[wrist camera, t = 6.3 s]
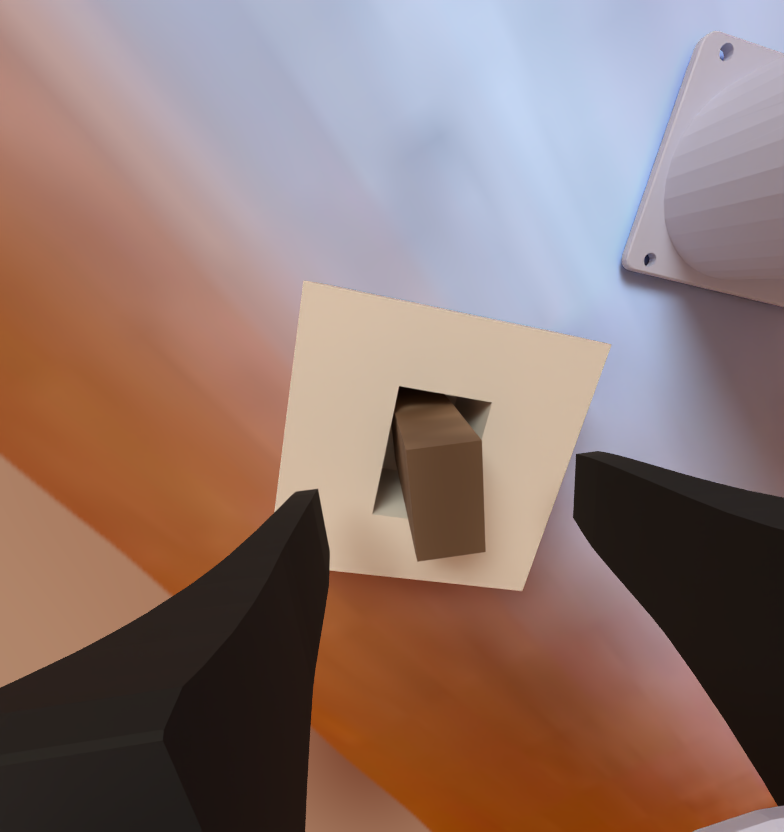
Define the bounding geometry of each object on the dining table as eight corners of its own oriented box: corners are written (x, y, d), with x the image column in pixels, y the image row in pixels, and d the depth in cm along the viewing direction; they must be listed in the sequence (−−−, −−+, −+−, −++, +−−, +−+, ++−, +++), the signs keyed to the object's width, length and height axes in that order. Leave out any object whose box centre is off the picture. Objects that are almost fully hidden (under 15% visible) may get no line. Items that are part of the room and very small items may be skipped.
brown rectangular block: (433, 380, 17) (482, 440, 10) (438, 454, 18) (485, 552, 11) (386, 385, 17) (406, 450, 10) (395, 460, 18) (417, 561, 11)
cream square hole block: (548, 330, 17) (611, 344, 13) (487, 526, 20) (522, 590, 16) (318, 282, 16) (303, 280, 11) (288, 500, 19) (267, 564, 14)
